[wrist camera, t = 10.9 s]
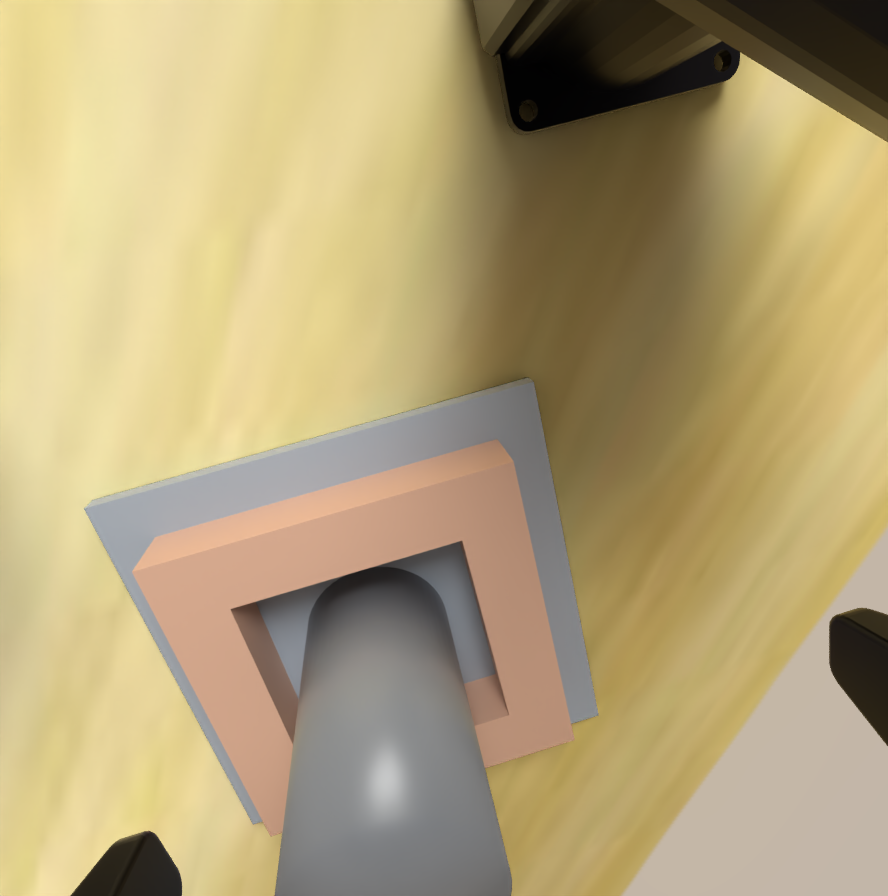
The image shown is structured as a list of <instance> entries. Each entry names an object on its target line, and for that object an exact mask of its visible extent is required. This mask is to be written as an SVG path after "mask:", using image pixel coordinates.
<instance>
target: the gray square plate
mask: <svg viewBox="0 0 888 896" xmlns="http://www.w3.org/2000/svg"><path fill="white" fill-rule="evenodd" d="M84 510H85V511H86V513H87V515H88V517H89V519H90V521H91V523H92V525H93V526H94V528H95V530H96V532H97V534H98V536H99V538H100V540H101V541H102V543H103V545H104V547H105V549H106V551H107V553H108V554H109V556H110V558H111V560H112V562H113V564H114V566H115V568H116V569H117V571H118V573H119V575H120V577H121V579H122V581H123V582H124V584H125V586H126V588H127V590H128V592H129V594H130V596H131V597H132V599H133V601H134V603H135V605H136V607H137V609H138V610H139V612H140V614H141V616H142V618H143V620H144V622H145V624H146V625H147V627H148V629H149V631H150V633H151V635H152V637H153V639H154V640H155V642H156V644H157V646H158V648H159V650H160V652H161V653H162V655H163V657H164V659H165V661H166V663H167V665H168V667H169V668H170V670H171V672H172V674H173V676H174V678H175V680H176V681H177V683H178V685H179V687H180V689H181V691H182V693H183V695H184V696H185V698H186V700H187V702H188V704H189V706H190V708H191V709H192V711H193V713H194V715H195V717H196V719H197V721H198V723H199V724H200V726H201V728H202V730H203V732H204V734H205V736H206V738H207V739H208V741H209V743H210V745H211V747H212V749H213V751H214V752H215V754H216V756H217V758H218V760H219V762H220V764H221V766H222V767H223V769H224V771H225V773H226V775H227V777H228V779H229V780H230V782H231V784H232V786H233V788H234V790H235V792H236V794H237V795H238V797H239V799H240V801H241V803H242V805H243V807H244V808H245V810H246V812H247V814H248V816H249V818H250V820H251V822H252V823H253V824H256V823H259V822H262V821H263V823H264V825H265V827H266V829H267V830H268V832H269V834H270V836H273V835H277V834H280V833H282V832H283V824H284V815H285V807H286V799H287V791H288V783H289V775H290V766H291V758H292V750H293V742H294V734H295V725H296V717H297V709H298V701H299V693H300V685H301V676H302V668H303V660H304V652H305V644H306V636H307V627H308V621H309V616H310V613H311V610H312V608H313V606H314V604H315V602H316V600H317V599H318V598H319V596H320V595H321V594H322V593H323V591H324V590H325V589H326V588H327V587H329V586H330V585H331V584H332V583H333V582H335V581H336V580H338V579H339V578H341V577H343V576H345V575H347V574H351V573H354V572H358V571H361V570H364V569H368V568H372V567H393V568H399V569H403V570H406V571H409V572H412V573H414V574H416V575H418V576H420V577H422V578H423V579H424V580H426V581H427V582H428V583H429V584H431V585H432V586H433V587H434V588H435V590H436V591H437V592H438V594H439V595H440V597H441V599H442V600H443V603H444V606H445V609H446V613H447V617H448V621H449V625H450V629H451V633H452V637H453V641H454V645H455V649H456V653H457V657H458V661H459V665H460V669H461V674H462V678H463V682H464V686H465V690H466V694H467V698H468V702H469V706H470V710H471V714H472V718H473V722H474V726H475V730H476V734H477V738H478V742H479V746H480V750H481V754H482V759H483V763H484V767H485V768H488V767H491V766H494V765H497V764H500V763H503V762H507V761H510V760H513V759H516V758H519V757H522V756H525V755H529V754H532V753H535V752H538V751H541V750H544V749H548V748H551V747H554V746H557V745H560V744H563V743H566V742H570V741H573V740H575V739H574V735H573V730H572V726H571V724H572V723H576V722H579V721H582V720H585V719H588V718H591V717H595V716H598V710H597V705H596V699H595V694H594V689H593V684H592V679H591V674H590V669H589V663H588V658H587V653H586V648H585V643H584V638H583V633H582V627H581V622H580V617H579V612H578V607H577V602H576V597H575V591H574V586H573V581H572V576H571V571H570V566H569V560H568V555H567V550H566V545H565V540H564V535H563V530H562V524H561V519H560V514H559V509H558V504H557V499H556V494H555V488H554V483H553V478H552V473H551V468H550V463H549V458H548V452H547V447H546V442H545V437H544V432H543V427H542V422H541V416H540V411H539V406H538V401H537V396H536V391H535V386H534V381H532V380H531V379H530V378H524V379H521V380H517V381H513V382H510V383H506V384H503V385H499V386H496V387H492V388H489V389H485V390H482V391H478V392H474V393H471V394H467V395H464V396H460V397H457V398H453V399H450V400H446V401H443V402H439V403H435V404H432V405H428V406H425V407H421V408H418V409H414V410H411V411H407V412H404V413H400V414H396V415H393V416H389V417H386V418H382V419H379V420H375V421H372V422H368V423H365V424H361V425H357V426H354V427H350V428H347V429H343V430H340V431H336V432H333V433H329V434H326V435H322V436H318V437H315V438H311V439H308V440H304V441H301V442H297V443H294V444H290V445H287V446H283V447H279V448H276V449H272V450H269V451H265V452H262V453H258V454H255V455H251V456H248V457H244V458H240V459H237V460H233V461H230V462H226V463H223V464H219V465H216V466H212V467H209V468H205V469H201V470H198V471H194V472H191V473H187V474H184V475H180V476H177V477H173V478H170V479H166V480H162V481H159V482H155V483H152V484H148V485H145V486H141V487H138V488H134V489H131V490H127V491H123V492H120V493H116V494H113V495H109V496H106V497H102V498H99V499H95V500H92V501H91V502H90V503H89V504H88V505H87V506H86V507H85V508H84Z"/></svg>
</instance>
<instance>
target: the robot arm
mask: <svg viewBox="0 0 888 896" xmlns="http://www.w3.org/2000/svg"><path fill="white" fill-rule="evenodd" d="M473 3H474V8H475V13H476V19H477V24H478V29H479V35H480V40H481V45H482V48H483V49H484V50H485V51H486V52H487V53H488V54H489V55H490V56H494V55H495V56H496V62H497V67H498V73H499V78H500V84H501V89H502V95H503V100H504V106H505V111H506V117H507V120H508V123H509V126H510V127H511V128H512V129H513V130H514V131H515V132H517V133H519V134H530V133H534V132H538V131H541V130H545V129H549V128H553V127H557V126H561V125H565V124H568V123H572V122H576V121H580V120H584V119H588V118H592V117H595V116H599V115H603V114H607V113H611V112H615V111H619V110H622V109H626V108H630V107H634V106H638V105H642V104H646V103H649V102H653V101H657V100H661V99H665V98H669V97H673V96H676V95H680V94H684V93H688V92H692V91H696V90H700V89H703V88H707V87H711V86H715V85H717V84H720V83H722V82H724V81H726V80H728V79H730V78H731V77H732V76H733V75H734V74H735V73H736V71H737V68H738V66H739V61H740V52H741V53H742V54H744V55H746V56H747V57H749V58H751V59H752V60H754V61H756V62H757V63H759V64H761V65H762V66H764V67H765V68H767V69H769V70H770V71H772V72H774V73H775V74H777V75H779V76H780V77H782V78H783V79H785V80H787V81H788V82H790V83H792V84H793V85H795V86H797V87H798V88H800V89H801V90H803V91H805V92H806V93H808V94H810V95H811V96H813V97H815V98H816V99H818V100H819V101H821V102H823V103H824V104H826V105H828V106H829V107H831V108H833V109H834V110H836V111H837V112H839V113H841V114H842V115H844V116H846V117H847V118H849V119H851V120H852V121H854V122H856V123H857V124H859V125H860V126H862V127H864V128H865V129H867V130H869V131H870V132H872V133H874V134H875V135H877V136H878V137H880V138H882V139H883V140H885V141H887V142H888V0H473ZM716 54H717V55H719V56H720V57H721V58H722V62H723V65H722V69H721V71H718V70H717V69H715V66H714V57H715V56H716ZM522 103H527V104H529V105H530V106H531V107H532V109H533V118H532V120H531V121H530V122H529V121H524V120H523V119H522V118H521V116H520V114H519V107H520V105H521V104H522ZM829 663H830V668H831V671H832V673H833V676H834V677H835V679H836V681H837V682H838V684H839V685H840V686H841V688H842V689H843V690H844V691H845V693H846V694H847V695H848V697H849V698H850V699H851V700H852V702H853V703H854V704H855V705H856V707H857V708H858V709H859V710H860V712H861V713H862V714H863V716H864V717H865V718H866V719H867V721H868V722H869V723H870V724H871V726H872V727H873V728H874V729H875V731H876V732H877V733H878V735H880V737H881V738H882V740H883V741H884V742H885V743H886V745H887V746H888V615H887V614H884V613H880V612H877V611H874V610H871V609H867V608H857V609H854V610H850V611H847V612H844V613H841V614H838V615H835V616H834V617H833V618H832V619H831V621H830V625H829ZM71 896H182V881H181V876H180V873H179V870H178V868H177V867H176V865H175V864H174V862H173V860H172V859H171V857H170V856H169V854H168V852H167V851H166V849H165V848H164V846H163V845H162V843H161V841H160V840H159V838H158V837H157V835H156V834H155V833H153V832H151V831H144V832H141V833H138V834H135V835H132V836H129V837H125V838H122V839H120V840H118V841H116V842H115V843H114V844H113V845H112V846H111V847H110V848H109V849H108V850H107V851H106V853H105V854H104V855H103V856H102V858H101V859H100V860H99V861H98V862H97V864H96V865H95V866H94V867H93V869H92V870H91V871H90V872H89V873H88V875H87V876H86V877H85V878H84V880H83V881H82V882H81V883H80V885H79V886H78V887H77V888H76V889H75V891H74V892H73V893H72V894H71Z"/></svg>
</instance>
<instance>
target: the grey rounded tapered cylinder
mask: <svg viewBox="0 0 888 896" xmlns="http://www.w3.org/2000/svg"><path fill="white" fill-rule="evenodd" d="M511 891H512V877H511V872H510V868H509V864H508V860H507V856H506V852H505V848H504V843H503V839H502V835H501V831H500V827H499V823H498V819H497V815H496V811H495V807H494V803H493V799H492V795H491V791H490V787H489V783H488V779H487V775H486V771H485V767H484V763H483V759H482V754H481V750H480V746H479V742H478V738H477V734H476V730H475V726H474V722H473V718H472V714H471V710H470V706H469V702H468V698H467V694H466V690H465V686H464V682H463V678H462V674H461V669H460V665H459V661H458V657H457V653H456V649H455V645H454V641H453V637H452V633H451V629H450V625H449V621H448V617H447V613H446V609H445V606H444V603H443V600H442V599H441V597H440V595H439V594H438V592H437V591H436V590H435V588H434V587H433V586H432V585H431V584H429V583H428V582H427V581H426V580H424V579H423V578H422V577H420V576H418V575H416V574H414V573H412V572H409V571H406V570H403V569H399V568H393V567H372V568H368V569H364V570H361V571H358V572H354V573H351V574H347V575H345V576H343V577H341V578H339V579H338V580H336V581H335V582H333V583H332V584H331V585H330V586H329V587H327V588H326V589H325V590H324V591H323V593H322V594H321V595H320V596H319V598H318V599H317V600H316V602H315V604H314V606H313V608H312V610H311V613H310V616H309V621H308V627H307V636H306V644H305V652H304V660H303V668H302V676H301V685H300V693H299V701H298V709H297V717H296V725H295V734H294V742H293V750H292V758H291V766H290V775H289V783H288V791H287V799H286V807H285V815H284V824H283V832H282V840H281V848H280V856H279V864H278V873H277V881H276V889H275V896H511Z"/></svg>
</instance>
